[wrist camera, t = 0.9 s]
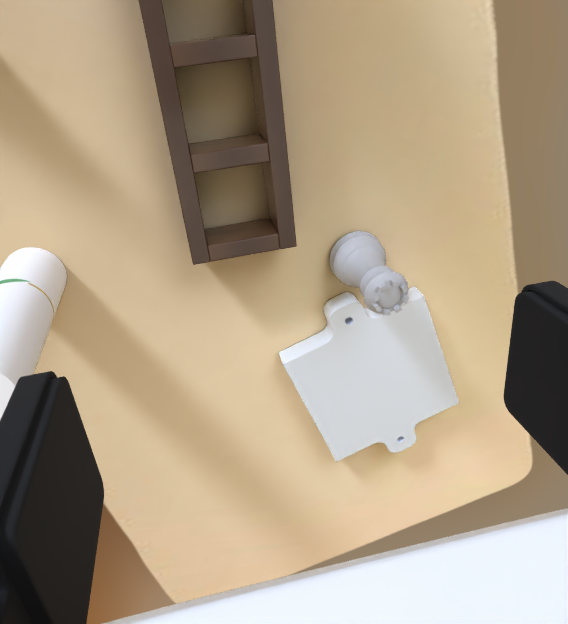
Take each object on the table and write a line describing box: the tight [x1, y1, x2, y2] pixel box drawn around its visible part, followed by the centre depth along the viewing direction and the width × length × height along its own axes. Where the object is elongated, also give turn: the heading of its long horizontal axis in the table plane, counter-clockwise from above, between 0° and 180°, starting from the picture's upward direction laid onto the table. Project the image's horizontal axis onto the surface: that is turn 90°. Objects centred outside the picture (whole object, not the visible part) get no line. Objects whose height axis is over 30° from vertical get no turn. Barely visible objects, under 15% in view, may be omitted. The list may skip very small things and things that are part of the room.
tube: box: [0, 247, 67, 420], centre depth 32 cm, size 4×4×15 cm
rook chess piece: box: [329, 231, 409, 315], centre depth 40 cm, size 4×4×8 cm
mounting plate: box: [279, 286, 459, 462], centre depth 48 cm, size 18×13×2 cm
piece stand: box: [139, 0, 297, 265], centre depth 34 cm, size 7×20×4 cm, turn 6°
